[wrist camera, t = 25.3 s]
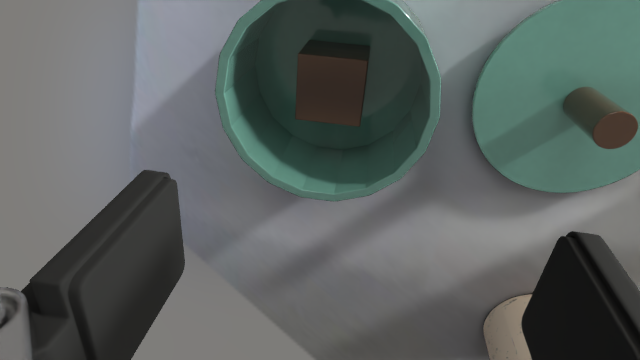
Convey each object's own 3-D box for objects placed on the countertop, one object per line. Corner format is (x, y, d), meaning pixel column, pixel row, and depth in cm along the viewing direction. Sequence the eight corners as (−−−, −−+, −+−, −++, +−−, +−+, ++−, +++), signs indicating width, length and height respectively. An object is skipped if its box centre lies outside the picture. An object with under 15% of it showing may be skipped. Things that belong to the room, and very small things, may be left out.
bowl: (247, -36, 29) (208, -30, 22) (448, -19, 28) (467, -7, 21) (250, 142, 35) (219, 186, 29) (412, 161, 34) (418, 212, 28)
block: (308, 39, 30) (297, 53, 26) (370, 45, 30) (368, 60, 26) (305, 99, 32) (294, 119, 29) (363, 105, 32) (360, 127, 28)
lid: (499, -22, 27) (527, -13, 22) (738, -2, 26) (828, 12, 21) (450, 174, 34) (462, 215, 29) (637, 196, 33) (685, 244, 28)
